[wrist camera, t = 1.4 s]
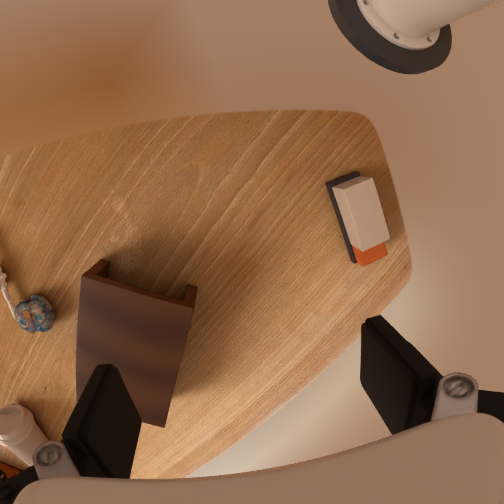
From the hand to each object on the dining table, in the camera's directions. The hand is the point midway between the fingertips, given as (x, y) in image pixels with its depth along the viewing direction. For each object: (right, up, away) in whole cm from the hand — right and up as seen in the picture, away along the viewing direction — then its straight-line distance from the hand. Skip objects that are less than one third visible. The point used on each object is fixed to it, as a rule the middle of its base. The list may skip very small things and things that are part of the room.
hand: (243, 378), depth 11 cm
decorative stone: (-28, -3, +24) cm, 37 cm away
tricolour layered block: (+12, +9, +25) cm, 29 cm away
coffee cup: (-38, -37, +29) cm, 60 cm away
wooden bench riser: (-14, -6, +26) cm, 30 cm away
